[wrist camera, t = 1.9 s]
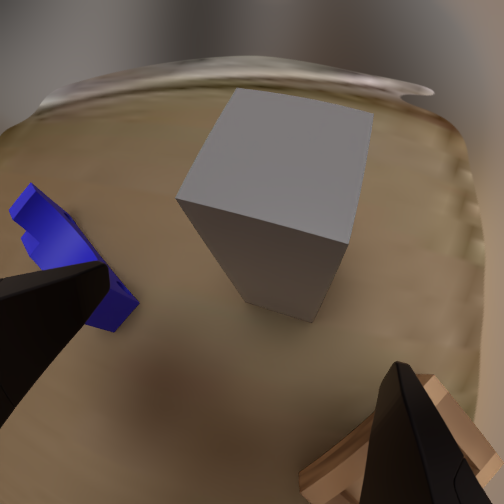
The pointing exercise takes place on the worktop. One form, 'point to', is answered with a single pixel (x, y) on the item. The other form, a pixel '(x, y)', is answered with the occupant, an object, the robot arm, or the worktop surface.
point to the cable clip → (67, 251)
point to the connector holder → (356, 447)
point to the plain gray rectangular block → (279, 195)
